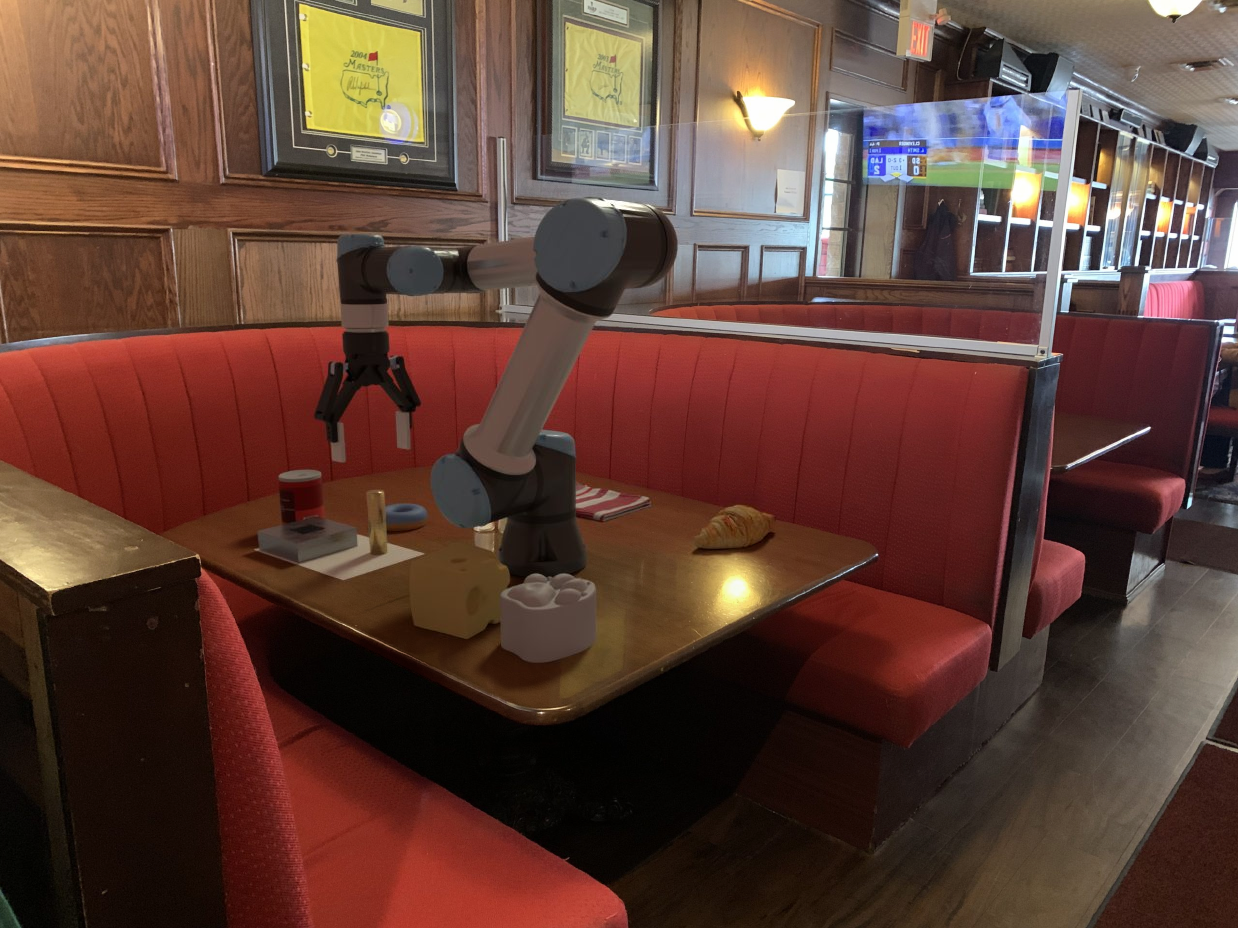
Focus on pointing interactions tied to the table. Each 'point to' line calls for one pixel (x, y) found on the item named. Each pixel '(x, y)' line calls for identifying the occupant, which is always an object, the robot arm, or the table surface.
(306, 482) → the canned food
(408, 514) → the doughnut
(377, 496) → the pin
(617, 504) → the dish towel
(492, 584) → the cheese
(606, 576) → the table surface
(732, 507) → the croissant
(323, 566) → the mat
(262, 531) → the square hole block
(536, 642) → the lumpy-topped squat cylinder
